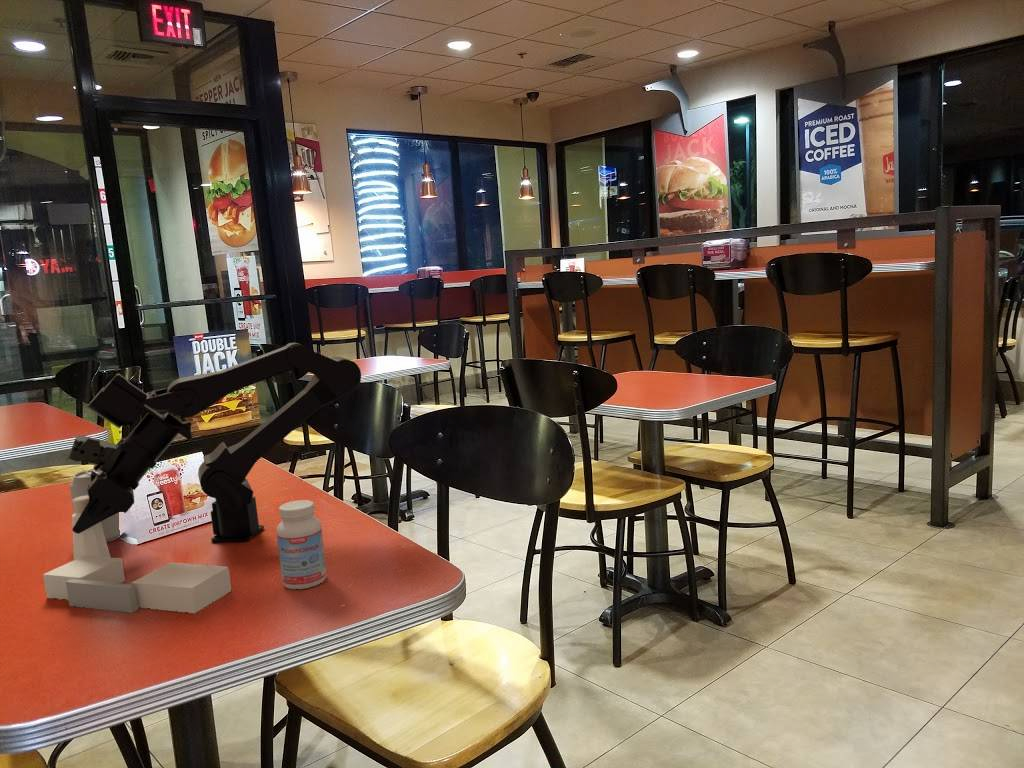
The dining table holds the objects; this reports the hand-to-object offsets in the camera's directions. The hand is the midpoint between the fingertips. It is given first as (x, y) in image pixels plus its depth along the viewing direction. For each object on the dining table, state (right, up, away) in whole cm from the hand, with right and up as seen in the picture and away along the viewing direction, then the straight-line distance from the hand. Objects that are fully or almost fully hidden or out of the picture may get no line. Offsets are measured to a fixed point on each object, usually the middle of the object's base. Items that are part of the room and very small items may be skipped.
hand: (76, 526), depth 117 cm
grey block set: (+15, -8, -12) cm, 20 cm away
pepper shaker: (+2, -7, +2) cm, 7 cm away
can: (-4, -5, +14) cm, 16 cm away
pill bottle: (+38, -6, -11) cm, 40 cm away
